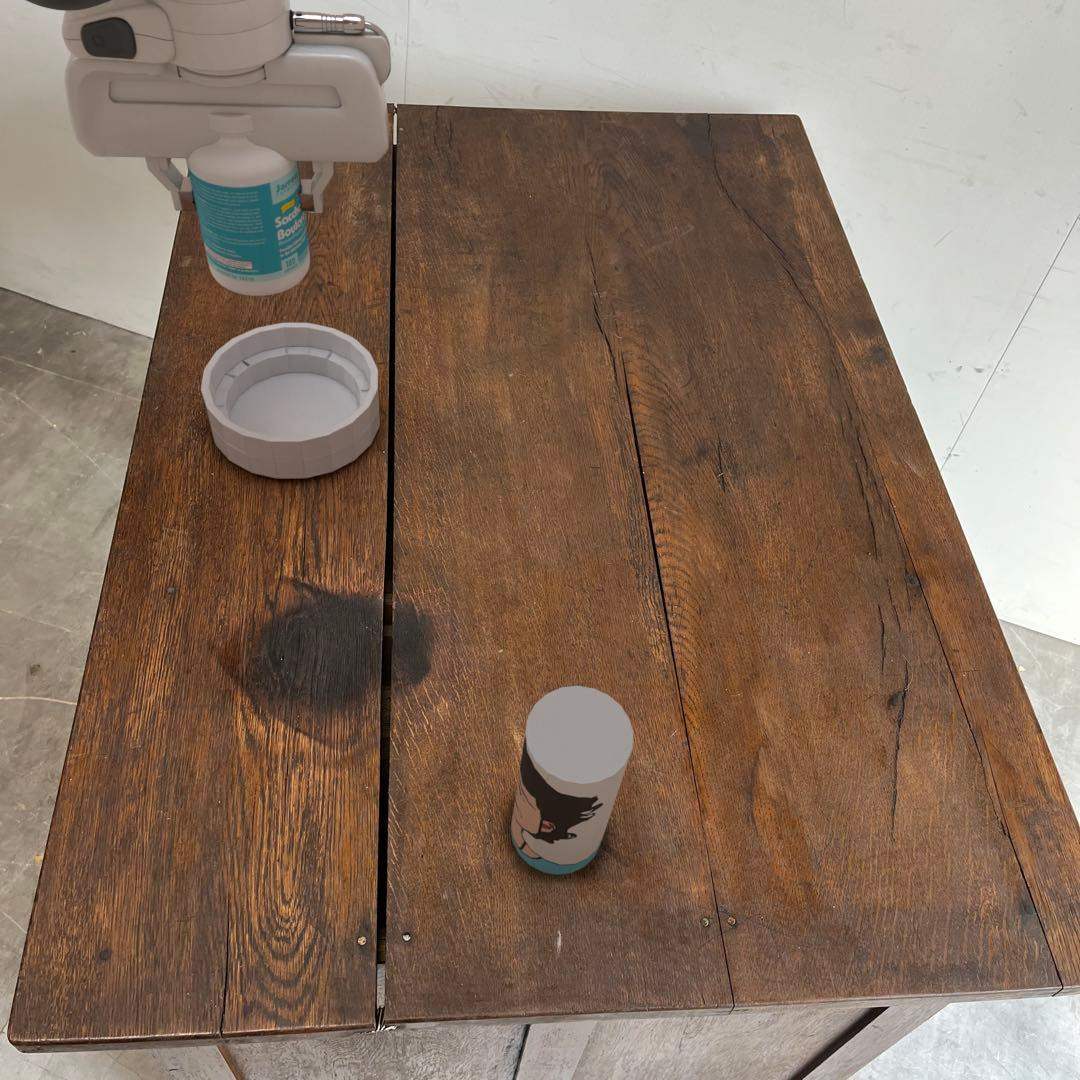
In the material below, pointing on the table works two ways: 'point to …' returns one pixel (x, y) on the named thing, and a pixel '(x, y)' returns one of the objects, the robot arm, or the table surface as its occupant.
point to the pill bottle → (249, 210)
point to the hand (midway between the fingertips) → (250, 207)
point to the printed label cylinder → (569, 777)
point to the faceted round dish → (292, 400)
